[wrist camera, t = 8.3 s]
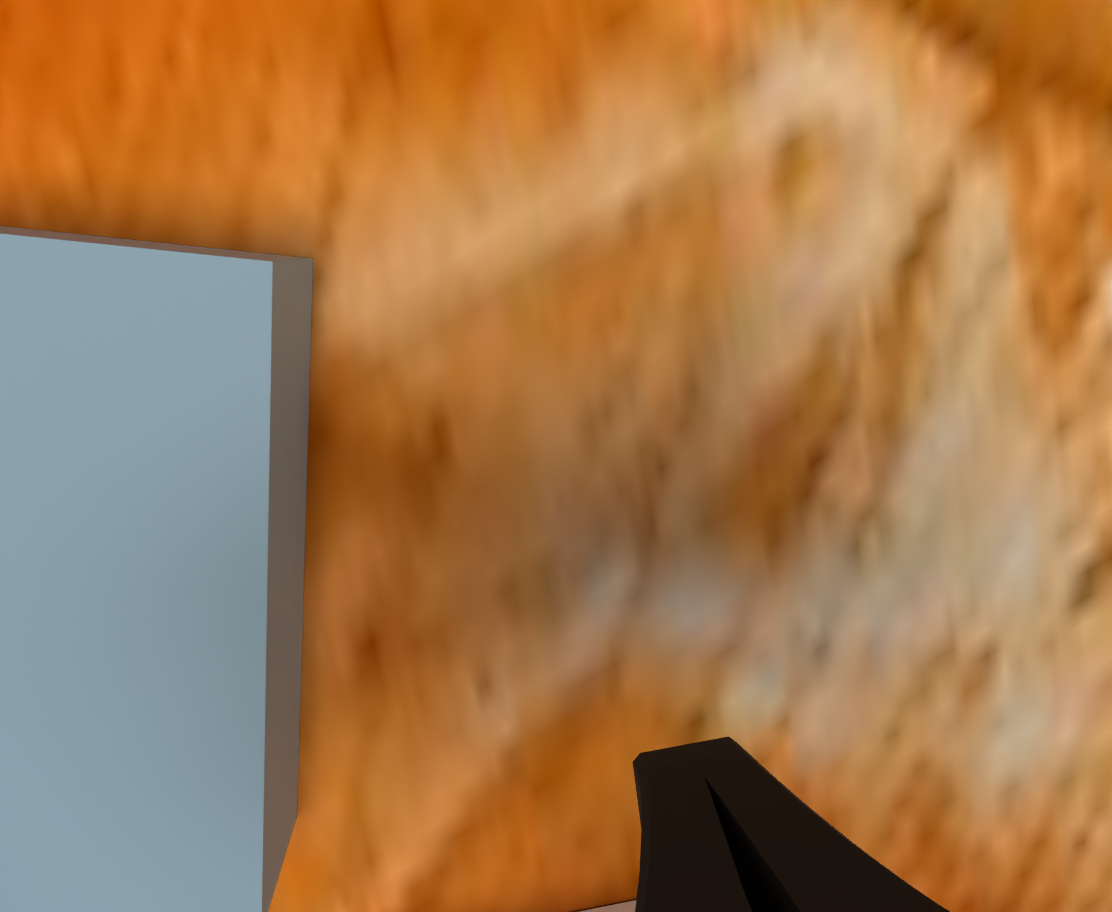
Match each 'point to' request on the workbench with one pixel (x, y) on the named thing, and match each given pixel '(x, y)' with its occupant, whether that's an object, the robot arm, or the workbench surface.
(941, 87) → the workbench surface
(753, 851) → the robot arm
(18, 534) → the book box
